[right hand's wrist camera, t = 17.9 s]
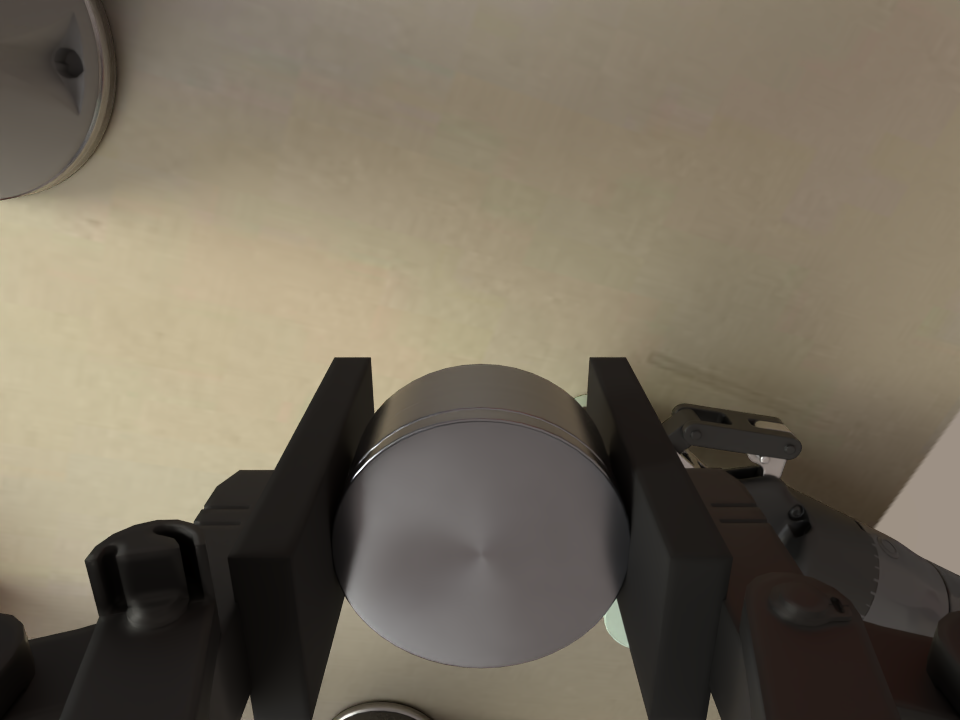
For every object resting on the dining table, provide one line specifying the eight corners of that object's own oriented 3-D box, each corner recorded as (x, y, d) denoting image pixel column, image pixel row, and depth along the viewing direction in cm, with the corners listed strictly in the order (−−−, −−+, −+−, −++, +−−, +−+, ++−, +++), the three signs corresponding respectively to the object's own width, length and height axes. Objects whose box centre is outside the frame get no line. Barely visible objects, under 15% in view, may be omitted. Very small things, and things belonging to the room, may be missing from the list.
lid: (659, 438, 12) (693, 506, 10) (524, 617, 14) (531, 706, 12) (428, 315, 11) (417, 363, 9) (312, 520, 13) (281, 598, 11)
